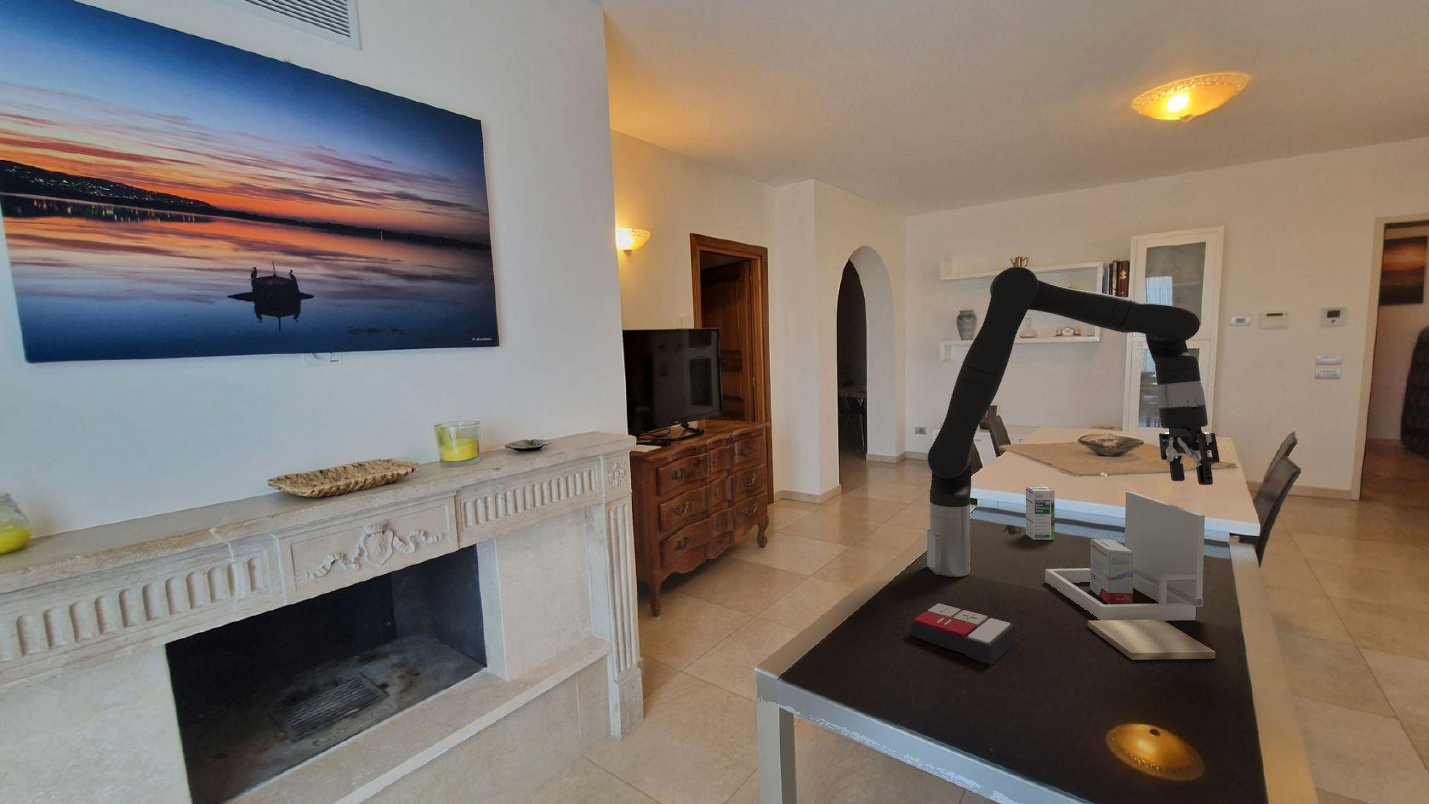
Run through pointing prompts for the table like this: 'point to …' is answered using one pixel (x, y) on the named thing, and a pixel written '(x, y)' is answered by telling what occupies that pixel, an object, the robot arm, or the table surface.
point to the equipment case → (1150, 564)
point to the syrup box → (1040, 513)
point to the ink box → (1111, 571)
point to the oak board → (1150, 639)
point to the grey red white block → (964, 632)
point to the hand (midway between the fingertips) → (1191, 482)
